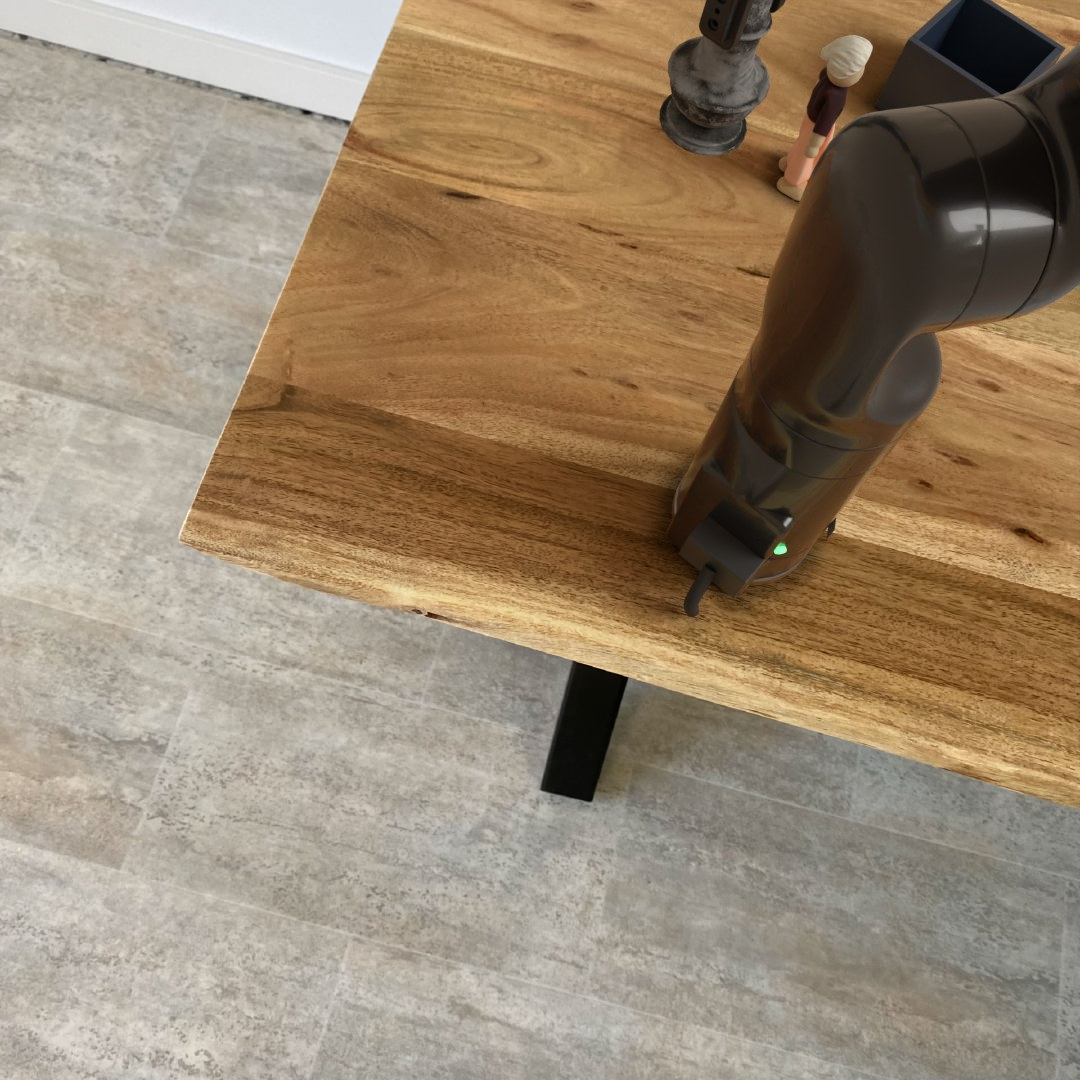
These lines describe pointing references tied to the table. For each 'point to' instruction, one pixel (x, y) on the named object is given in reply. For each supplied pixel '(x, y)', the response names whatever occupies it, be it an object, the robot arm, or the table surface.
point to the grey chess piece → (716, 88)
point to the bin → (967, 57)
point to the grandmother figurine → (823, 110)
